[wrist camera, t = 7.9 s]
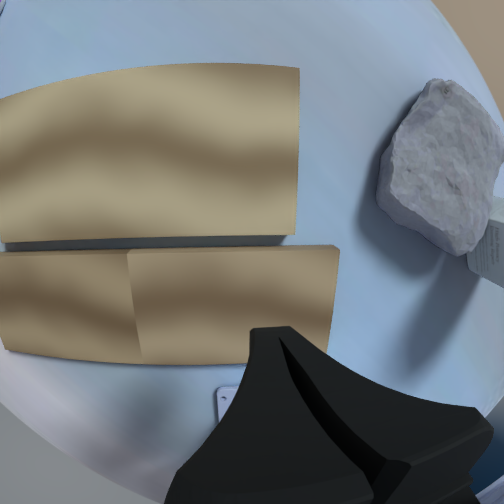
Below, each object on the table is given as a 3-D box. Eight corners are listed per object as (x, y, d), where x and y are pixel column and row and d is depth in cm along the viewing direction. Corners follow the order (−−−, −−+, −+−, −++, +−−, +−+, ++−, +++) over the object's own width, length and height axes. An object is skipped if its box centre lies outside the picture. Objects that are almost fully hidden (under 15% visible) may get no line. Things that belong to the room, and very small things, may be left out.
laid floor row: (320, 347, 22) (325, 355, 21) (11, 342, 19) (5, 349, 18) (332, 244, 20) (339, 249, 19) (-13, 252, 17) (-21, 256, 15)
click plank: (290, 230, 19) (295, 234, 18) (10, 238, 17) (1, 242, 15) (294, 73, 16) (299, 67, 15) (6, 102, 14) (-4, 100, 12)
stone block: (350, 201, 21) (447, 257, 21) (372, 202, 16) (480, 270, 17) (400, 74, 19) (487, 138, 19) (426, 52, 14) (520, 131, 15)
